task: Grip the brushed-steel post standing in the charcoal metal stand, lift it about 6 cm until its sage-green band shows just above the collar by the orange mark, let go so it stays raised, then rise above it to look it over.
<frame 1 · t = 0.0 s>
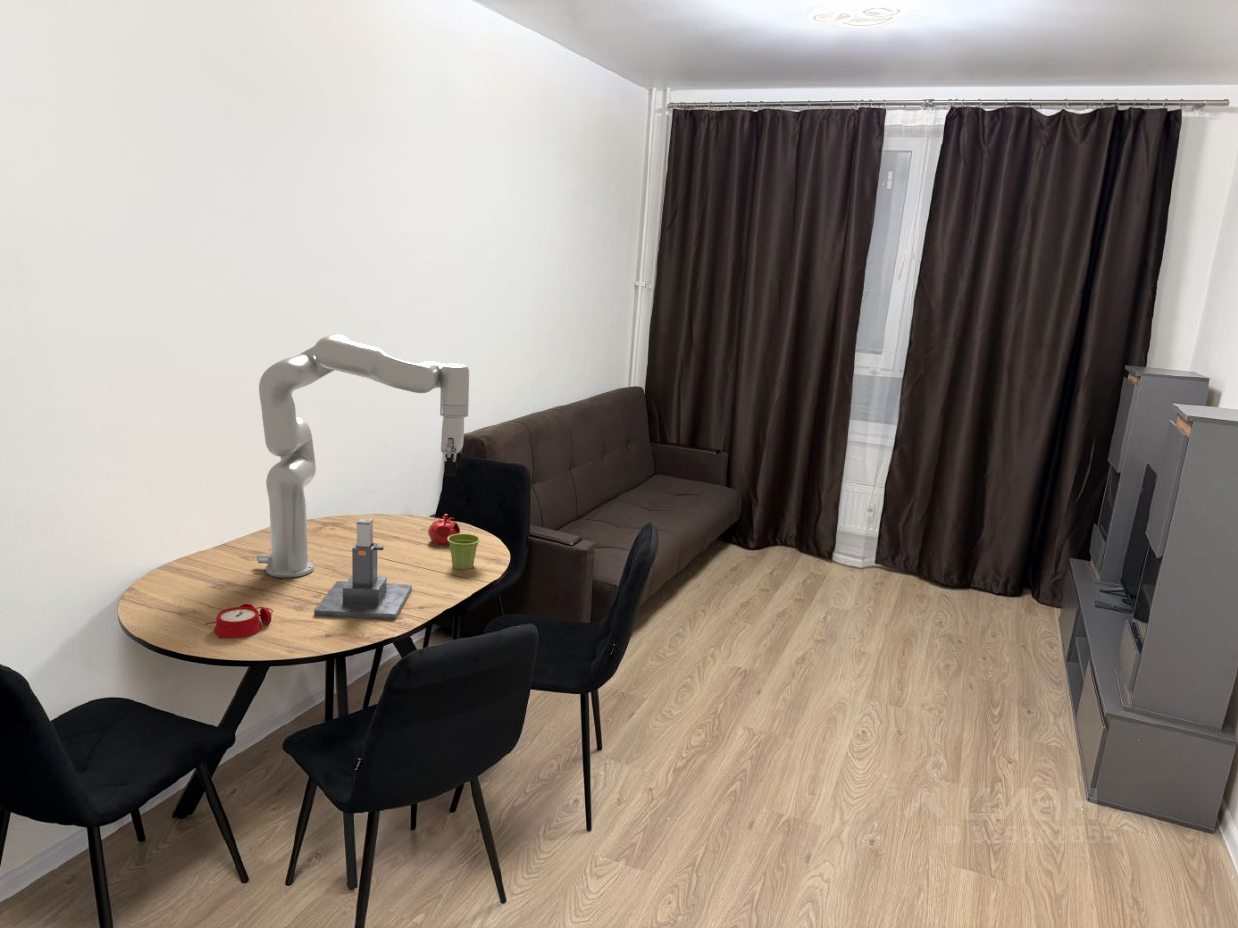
hand: (453, 471, 236), 31 cm above the table, tool pointing down, fingers open, 9 cm apart
alarm clock: (244, 628, 205), on the table
steel post: (365, 551, 220), point 14 cm above the table, slide at 0.0 cm
pomegranate: (444, 542, 273), on the table
plant pot: (463, 567, 253), on the table
charcoal stand: (365, 602, 223), on the table
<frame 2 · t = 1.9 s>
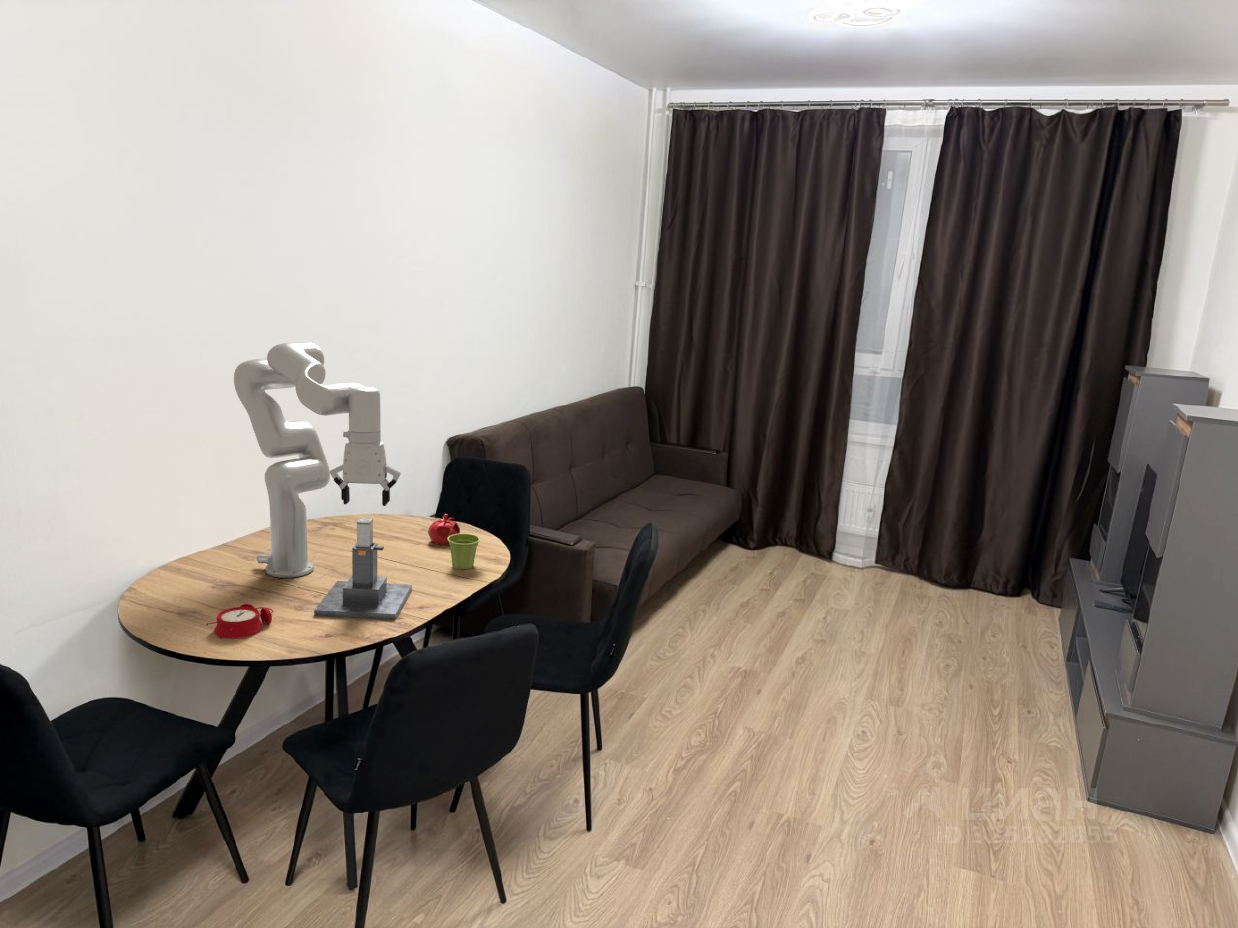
hand: (365, 503, 217), 27 cm above the table, tool pointing down, fingers open, 9 cm apart
nothing on the table moved.
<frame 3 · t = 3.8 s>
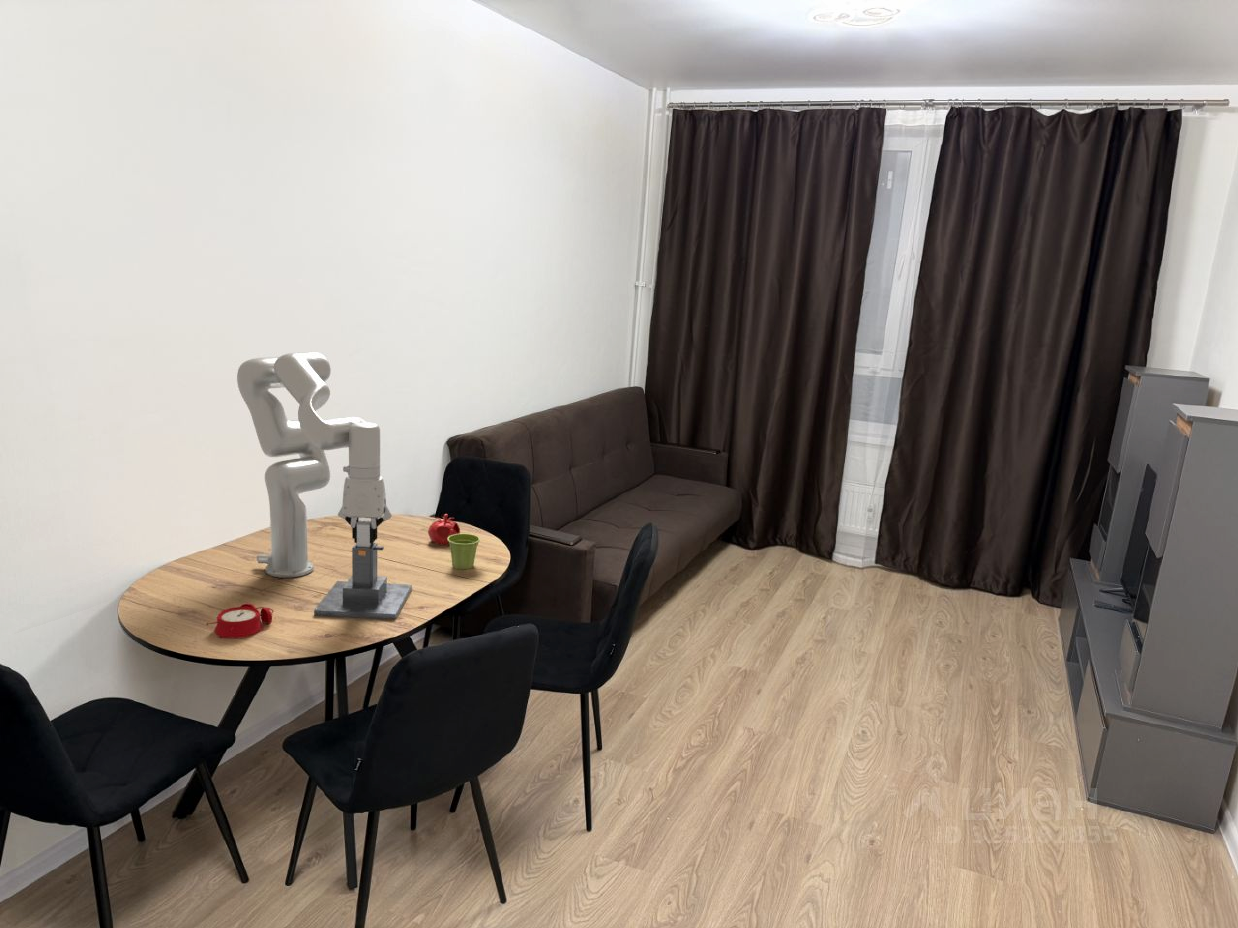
hand: (364, 541, 219), 17 cm above the table, tool pointing down, fingers closed on steel post, 3 cm apart
steel post: (365, 551, 220), point 14 cm above the table, slide at 0.0 cm, touching gripper
everything else where it was.
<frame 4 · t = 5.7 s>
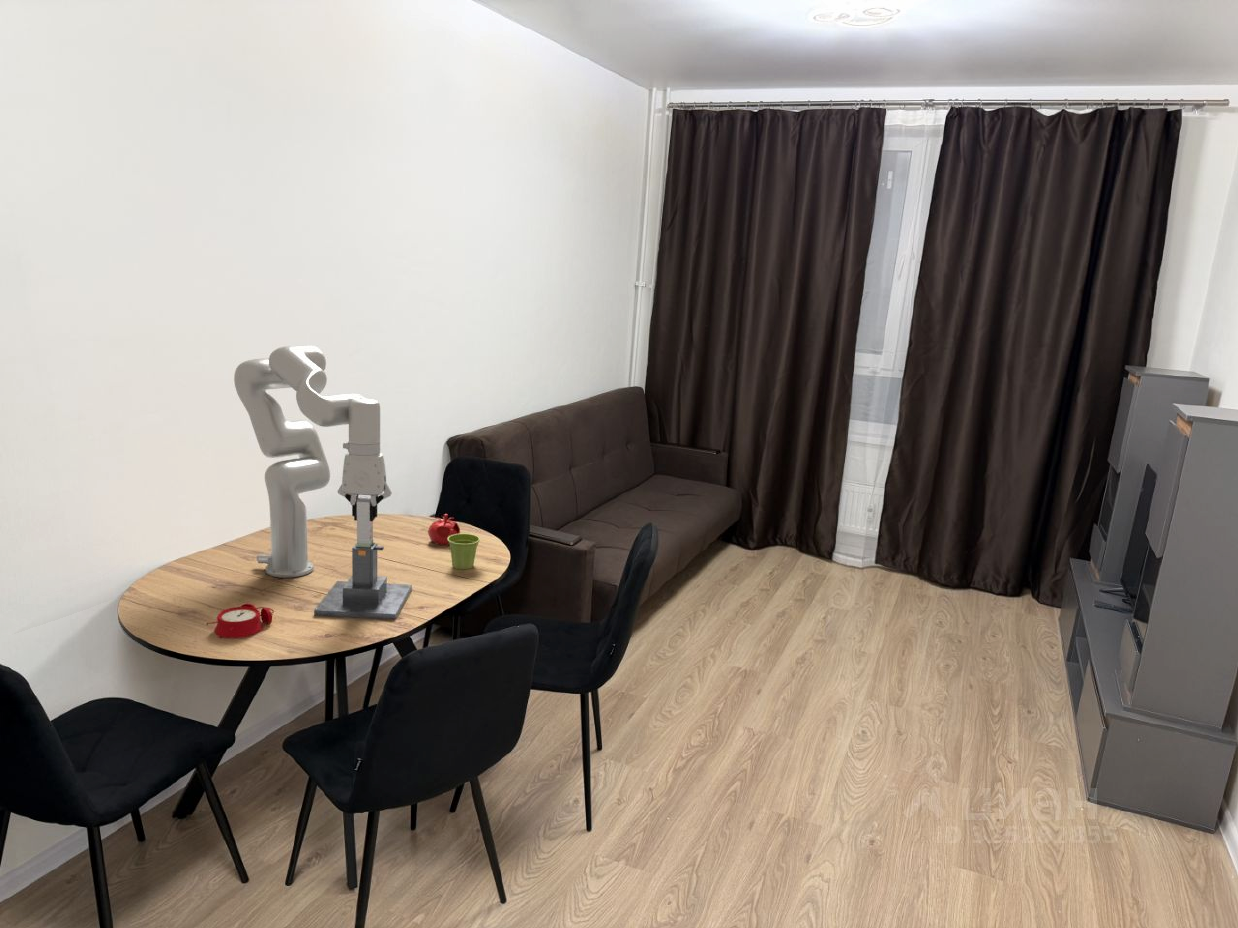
hand: (364, 518, 218), 23 cm above the table, tool pointing down, fingers closed on steel post, 3 cm apart
steel post: (364, 529, 219), point 20 cm above the table, slide at 5.9 cm, touching gripper
everything else where it was.
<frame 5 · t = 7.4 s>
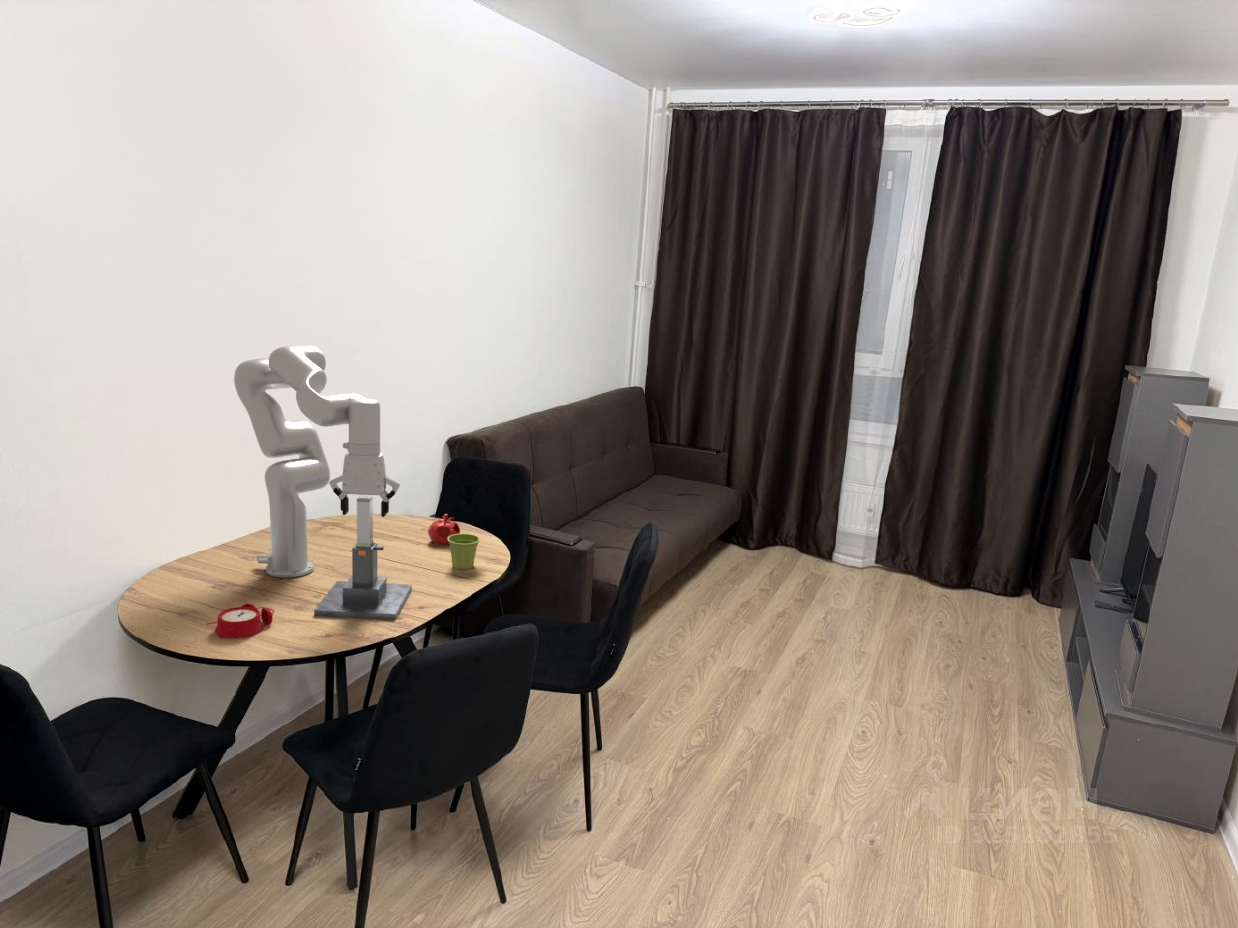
hand: (364, 514, 218), 24 cm above the table, tool pointing down, fingers open, 9 cm apart
steel post: (364, 529, 219), point 20 cm above the table, slide at 6.0 cm
everything else where it was.
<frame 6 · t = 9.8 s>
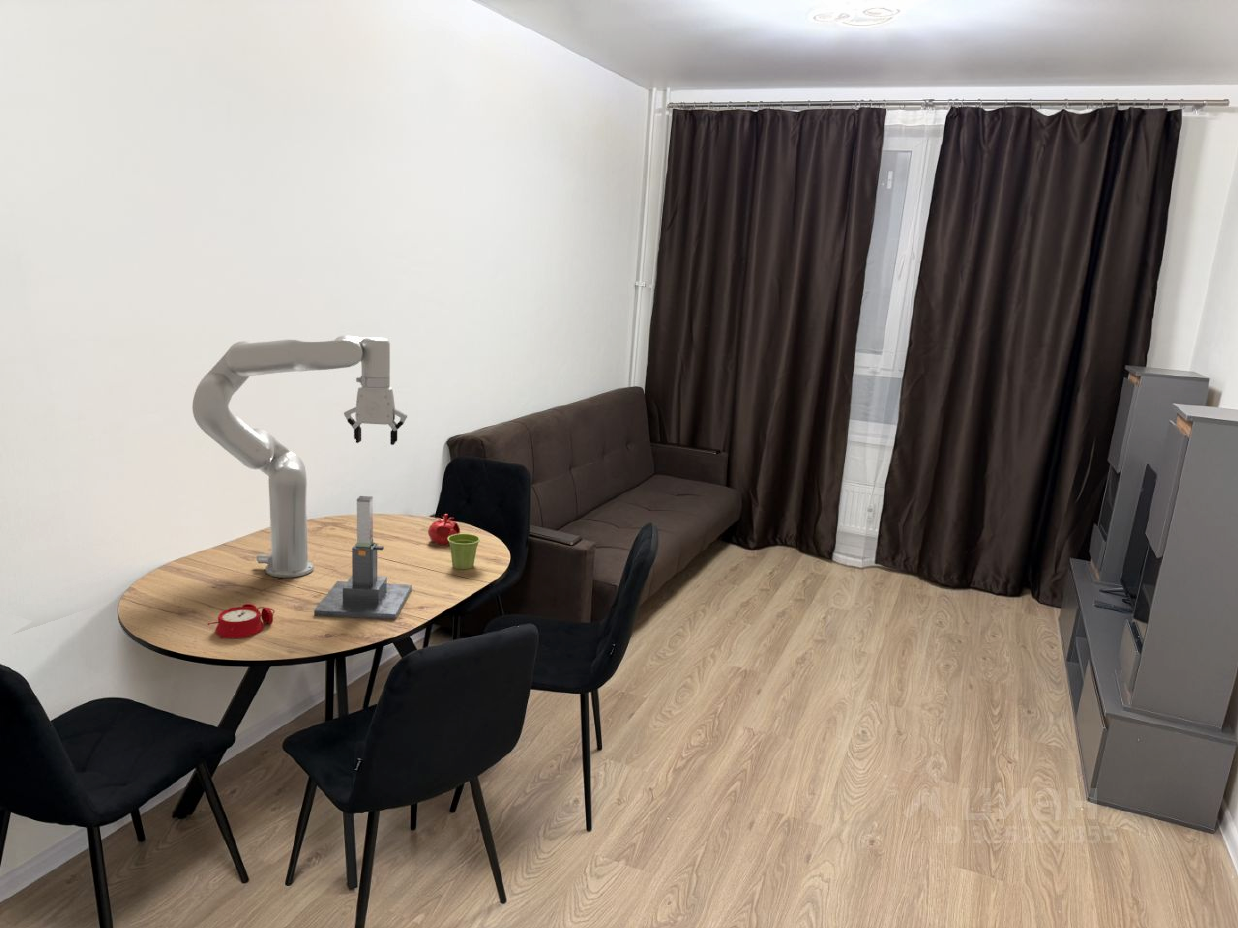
hand: (375, 442, 242), 36 cm above the table, tool pointing down, fingers open, 9 cm apart
nothing on the table moved.
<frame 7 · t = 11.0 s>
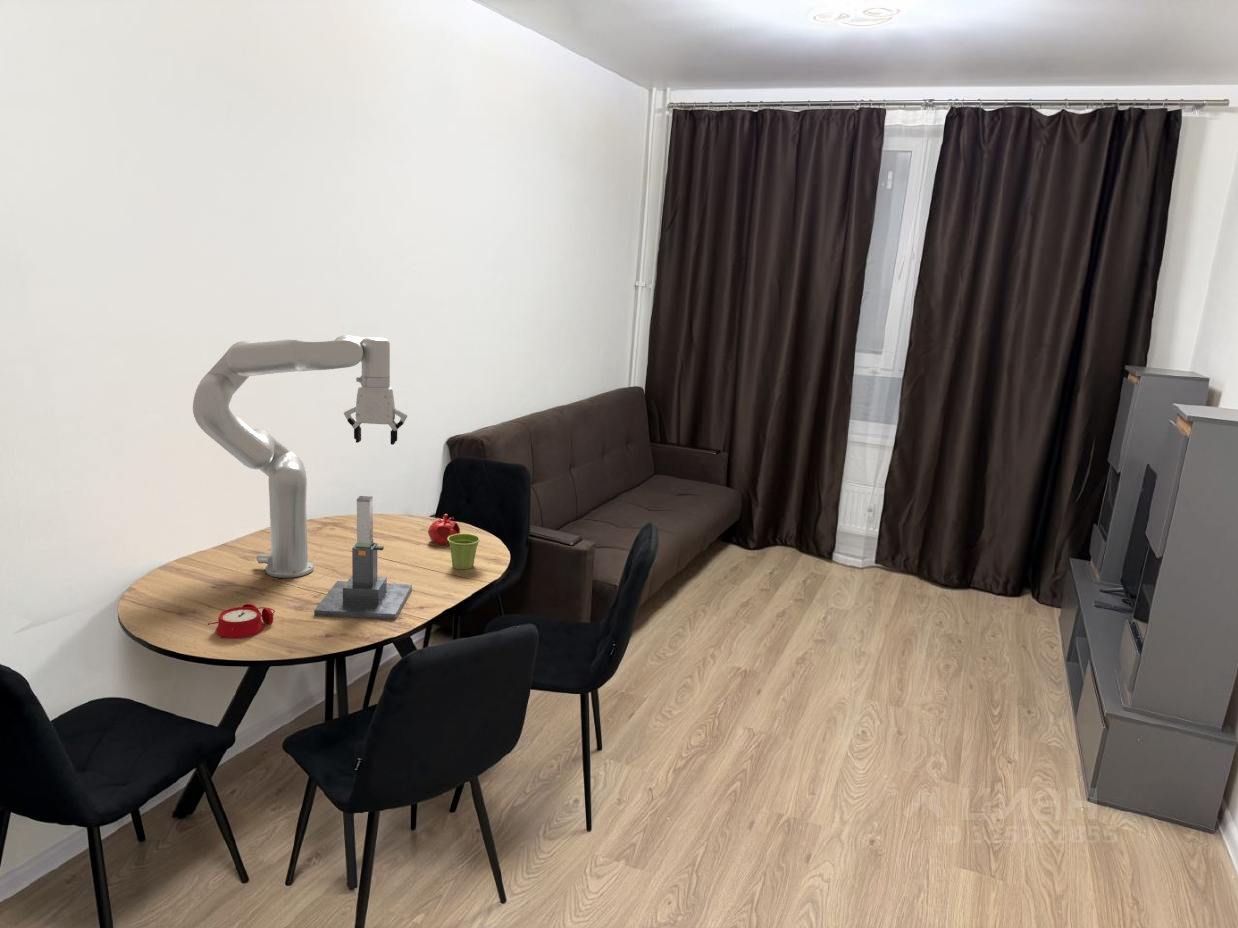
hand: (375, 442, 242), 36 cm above the table, tool pointing down, fingers open, 9 cm apart
nothing on the table moved.
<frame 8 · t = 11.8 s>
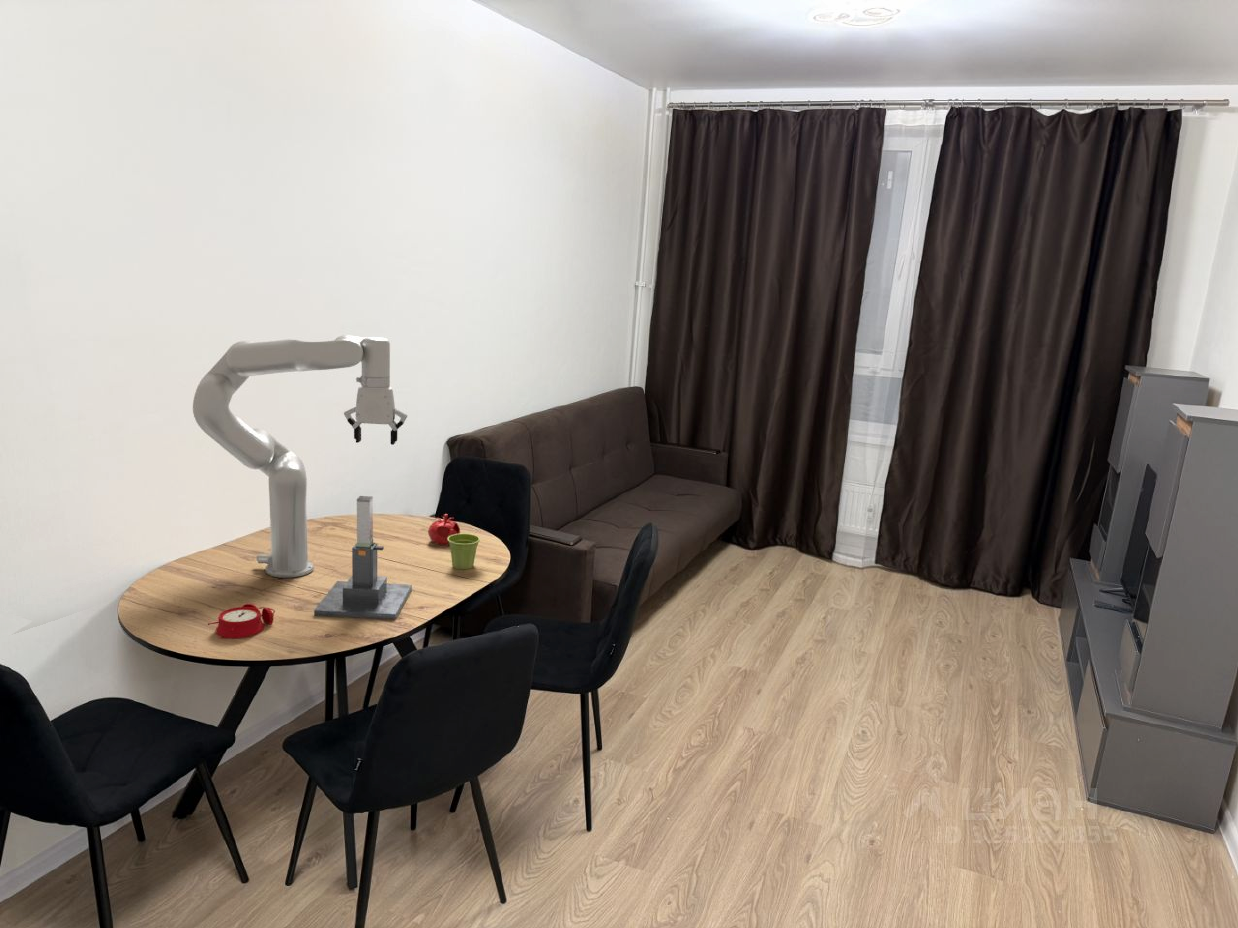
hand: (375, 442, 242), 36 cm above the table, tool pointing down, fingers open, 9 cm apart
nothing on the table moved.
at the end: steel post slide at 6.0 cm; the gripper is holding nothing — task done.
